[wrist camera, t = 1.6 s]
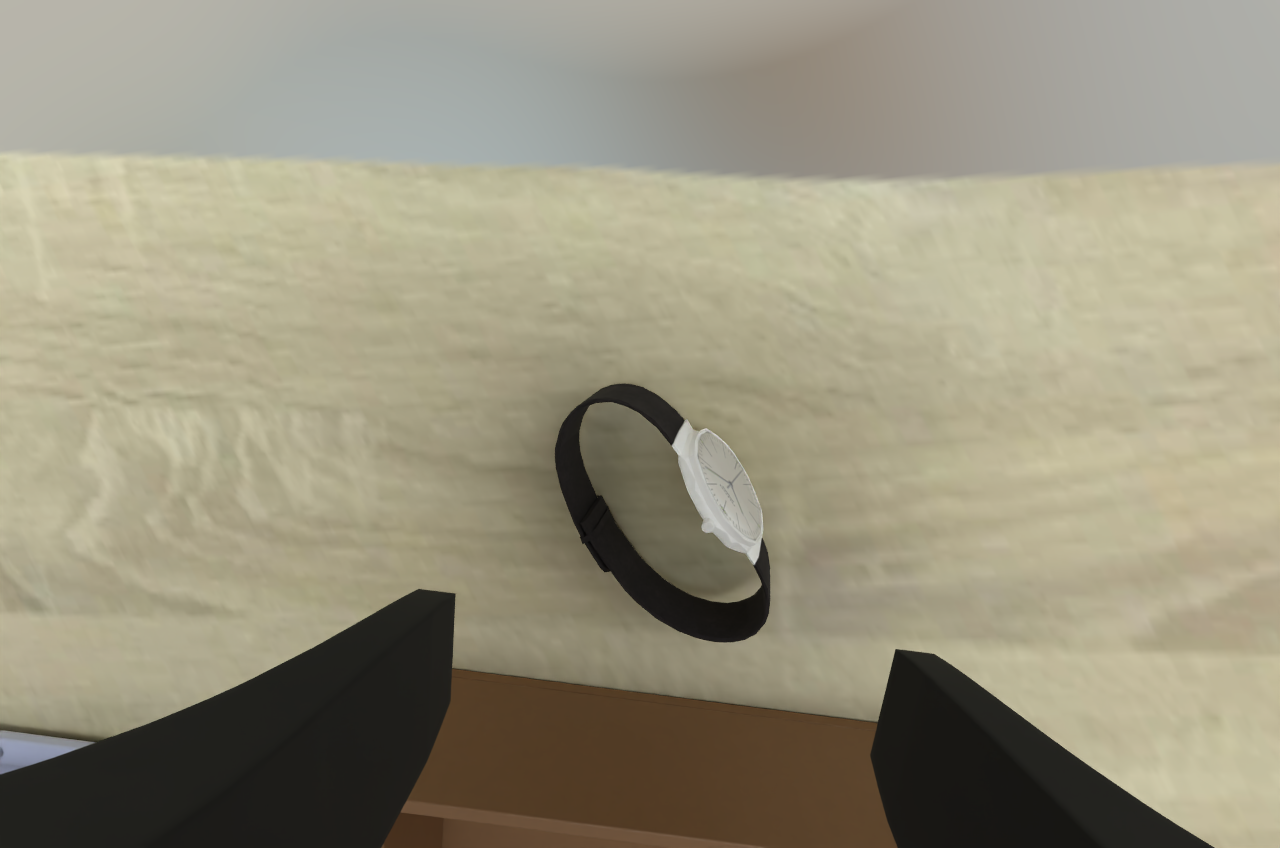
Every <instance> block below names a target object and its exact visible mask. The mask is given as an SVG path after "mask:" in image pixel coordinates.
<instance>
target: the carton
mask: <svg viewBox="0 0 1280 848" xmlns="http://www.w3.org/2000/svg"><path fill="white" fill-rule="evenodd" d="M877 724H878V723H873V722H865V721H857V720H849V719H841V718H834V717H826V716H818V715H810V714H802V713H795V712H787V711H779V710H771V709H763V708H755V707H748V706H740V705H732V704H724V703H716V702H708V701H701V700H693V699H685V698H677V697H669V696H661V695H654V694H646V693H638V692H630V691H622V690H614V689H607V688H599V687H591V686H583V685H575V684H567V683H560V682H552V681H544V680H536V679H528V678H520V677H513V676H505V675H497V674H489V673H481V672H473V671H466V670H458V669H452V682H451V702H450V704H449V707H448V710H447V712H446V715H445V717H444V720H443V723H442V725H441V728H440V731H439V733H438V736H437V738H436V741H435V743H434V746H433V748H432V751H431V753H430V756H429V758H428V761H427V763H426V765H425V767H424V768H423V770H422V772H421V774H420V776H419V778H418V780H417V782H416V784H415V786H414V788H413V789H412V791H411V793H410V795H409V797H408V799H407V801H406V803H405V805H404V806H403V808H402V810H401V812H400V814H399V816H398V818H397V820H396V821H395V823H394V825H393V827H392V829H391V831H390V833H389V834H388V836H387V838H386V840H385V842H384V844H383V846H382V847H381V848H898V847H897V845H896V842H895V840H894V837H893V835H892V832H891V829H890V827H889V824H888V822H887V818H886V815H885V811H884V808H883V804H882V800H881V797H880V793H879V790H878V786H877V782H876V778H875V774H874V769H873V765H872V761H871V757H870V753H871V749H872V745H873V741H874V737H875V733H876V729H877Z"/></svg>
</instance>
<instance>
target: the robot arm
mask: <svg viewBox="0 0 1280 848" xmlns="http://www.w3.org/2000/svg"><path fill="white" fill-rule="evenodd" d="M454 614H455V594H454V593H446V592H438V591H430V590H422V589H418V590H416V591H414V592H412V593H410V594H408V595H406V596H404V597H402V598H400V599H399V600H397V601H395V602H393V603H391V604H390V605H388V606H386V607H384V608H383V609H381V610H379V611H377V612H376V613H374V614H372V615H370V616H369V617H367V618H365V619H364V620H362V621H360V622H358V623H356V624H355V625H353V626H351V627H349V628H348V629H346V630H344V631H342V632H340V633H339V634H337V635H335V636H333V637H332V638H330V639H328V640H326V641H324V642H323V643H321V644H319V645H317V646H315V647H314V648H312V649H310V650H308V651H306V652H304V653H302V654H300V655H298V656H296V657H294V658H292V659H290V660H288V661H286V662H284V663H282V664H280V665H278V666H276V667H274V668H272V669H270V670H268V671H266V672H265V673H263V674H261V675H259V676H257V677H255V678H253V679H251V680H249V681H247V682H245V683H242V684H240V685H238V686H236V687H234V688H232V689H230V690H227V691H225V692H223V693H221V694H218V695H216V696H214V697H212V698H209V699H207V700H205V701H202V702H200V703H198V704H195V705H193V706H190V707H188V708H186V709H183V710H181V711H178V712H176V713H174V714H171V715H169V716H167V717H164V718H162V719H159V720H156V721H154V722H151V723H149V724H146V725H144V726H141V727H138V728H135V729H132V730H130V731H127V732H124V733H121V734H118V735H116V736H113V737H110V738H107V739H104V740H102V741H99V742H89V741H81V740H73V739H66V738H58V737H50V736H43V735H35V734H28V733H20V732H12V731H5V730H0V848H381V847H382V846H383V844H384V842H385V840H386V838H387V836H388V834H389V833H390V831H391V829H392V827H393V825H394V823H395V821H396V820H397V818H398V816H399V814H400V812H401V810H402V808H403V806H404V805H405V803H406V801H407V799H408V797H409V795H410V793H411V791H412V789H413V788H414V786H415V784H416V782H417V780H418V778H419V776H420V774H421V772H422V770H423V768H424V767H425V765H426V763H427V761H428V758H429V756H430V753H431V751H432V748H433V746H434V743H435V741H436V738H437V736H438V733H439V731H440V728H441V725H442V723H443V720H444V717H445V715H446V712H447V710H448V707H449V704H450V702H451V682H452V659H453V637H454ZM870 757H871V761H872V765H873V769H874V774H875V778H876V782H877V786H878V790H879V793H880V797H881V800H882V804H883V808H884V811H885V815H886V818H887V822H888V824H889V827H890V829H891V832H892V835H893V837H894V840H895V842H896V845H897V847H898V848H1214V847H1212V846H1211V845H1209V844H1208V843H1206V842H1204V841H1203V840H1201V839H1199V838H1198V837H1196V836H1194V835H1193V834H1191V833H1190V832H1188V831H1186V830H1185V829H1183V828H1181V827H1180V826H1178V825H1176V824H1175V823H1173V822H1172V821H1170V820H1169V819H1167V818H1166V817H1164V816H1162V815H1161V814H1159V813H1158V812H1156V811H1155V810H1153V809H1152V808H1150V807H1149V806H1147V805H1146V804H1144V803H1142V802H1141V801H1140V800H1138V799H1137V798H1135V797H1134V796H1132V795H1131V794H1129V793H1128V792H1126V791H1125V790H1123V789H1122V788H1120V787H1119V786H1118V785H1116V784H1115V783H1113V782H1112V781H1110V780H1109V779H1107V778H1106V777H1104V776H1103V775H1101V774H1100V773H1099V772H1097V771H1096V770H1094V769H1093V768H1091V767H1090V766H1088V765H1087V764H1086V763H1084V762H1083V761H1081V760H1080V759H1079V758H1077V757H1076V756H1074V755H1073V754H1072V753H1070V752H1069V751H1067V750H1066V749H1065V748H1063V747H1062V746H1061V745H1059V744H1058V743H1056V742H1055V741H1054V740H1052V739H1051V738H1050V737H1048V736H1047V735H1045V734H1044V733H1043V732H1041V731H1040V730H1039V729H1037V728H1036V727H1035V726H1033V725H1032V724H1031V723H1029V722H1028V721H1027V720H1025V719H1024V718H1023V717H1021V716H1020V715H1019V714H1017V713H1016V712H1015V711H1013V710H1012V709H1011V708H1009V707H1008V706H1007V705H1005V704H1004V703H1003V702H1001V701H1000V700H999V699H997V698H996V697H995V696H993V695H992V694H991V693H989V692H988V691H987V690H985V689H984V688H982V687H981V686H980V685H978V684H977V683H976V682H974V681H973V680H972V679H970V678H969V677H967V676H966V675H965V674H963V673H962V672H961V671H959V670H958V669H956V668H955V667H953V666H952V665H950V664H949V663H947V662H946V661H944V660H943V659H941V658H940V657H938V656H936V655H935V654H930V653H922V652H914V651H906V650H899V649H896V650H895V654H894V658H893V662H892V667H891V671H890V675H889V679H888V683H887V687H886V691H885V695H884V700H883V704H882V708H881V712H880V716H879V720H878V724H877V729H876V733H875V737H874V741H873V745H872V749H871V753H870Z"/></svg>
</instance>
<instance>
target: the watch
mask: <svg viewBox="0 0 1280 848" xmlns="http://www.w3.org/2000/svg"><path fill="white" fill-rule="evenodd" d="M602 402H614V403H617V404H620V405H624V406H627V407H629V408H631V409H633V410H635V411H637V412H639V413H640V414H641V415H642V416H644V417H645V418H646V419H647V420H648V421H650V422H651V423H652V424H653V425H654V426H656V427H657V428H658V430H659V431H660V432H661V433H662V434H663V436H664V437H665V438H666V439H667V441H668V442H669V443H670V444H671V446H672V447H673V449H674V450H675V451H676V452H677V454H678V464H679V467H680V470H681V473H682V476H683V479H684V482H685V485H686V489H687V491H688V493H689V495H690V497H691V499H692V501H693V503H694V505H695V507H696V509H697V511H698V513H699V515H700V516H701V518H702V519H703V520H704V521H703V523H702V527H701V528H702V530H703V531H704V532H705V533H711V532H713V533H714V534H715V535H716V536H717V537H718V538H719V540H720V541H721V542H722V543H723V544H724V545H725V546H726V547H728V548H730V549H733V550H735V551H737V552H740V553H745V554H746V555H747V557H748V558H749V560H750V561H751V563H752V565H753V566H754V568H755V570H756V572H757V574H758V576H759V578H760V580H761V583H762V586H761V588H760V589H759V590H758V591H757V592H756V594H755V595H753V596H751V597H750V598H747V599H744V600H742V601H739V602H732V603H721V602H712V601H708V600H704V599H701V598H698V597H694V596H692V595H690V594H688V593H686V592H684V591H682V590H680V589H678V588H676V587H675V586H673V585H672V584H670V583H669V582H667V581H666V580H664V579H663V578H662V577H661V576H660V575H659V574H658V573H656V572H655V571H654V570H653V569H652V568H651V567H650V566H649V565H648V564H647V563H646V562H645V561H644V560H643V559H642V558H641V557H640V556H639V555H638V553H637V552H636V550H635V549H634V548H633V546H632V545H631V544H630V542H629V541H628V540H627V538H626V537H625V536H624V534H623V533H622V531H621V530H620V529H619V527H618V526H617V525H616V523H615V521H614V518H613V516H612V515H611V513H610V511H609V508H608V506H607V505H606V503H605V501H604V499H603V497H602V496H598V498H597V496H596V494H595V491H594V489H593V487H592V484H591V482H590V479H589V477H588V475H587V472H586V470H585V467H584V464H583V460H582V456H581V452H580V444H579V430H580V426H581V422H582V419H583V416H584V414H585V412H586V411H587V409H588V407H589V406H590V405H592V404H594V403H602ZM555 463H556V470H557V474H558V479H559V483H560V487H561V490H562V493H563V496H564V498H565V501H566V504H567V506H568V509H569V511H570V514H571V517H572V519H573V522H574V524H575V526H576V528H577V530H578V532H579V534H580V538H581V541H582V544H584V543H585V545H586V546H587V548H588V549H589V551H590V552H591V554H592V556H593V557H594V559H595V560H596V562H597V564H598V565H599V567H600V568H601V569H602V570H603V571H604V572H610V571H611V572H612V574H613V575H614V577H615V578H616V579H617V581H618V582H619V583H620V585H621V586H622V587H623V588H624V590H625V591H626V592H627V593H628V594H629V595H630V596H631V597H632V598H633V599H634V600H635V601H636V602H637V603H638V604H639V605H640V606H642V607H643V608H644V609H645V610H647V611H648V612H649V613H650V614H651V615H653V616H654V617H655V618H656V619H658V620H660V621H662V622H663V623H665V624H667V625H669V626H670V627H672V628H674V629H676V630H677V631H679V632H682V633H685V634H687V635H690V636H693V637H695V638H699V639H703V640H708V641H713V642H736V641H741V640H745V639H747V638H749V637H751V636H753V635H755V634H756V633H757V632H758V631H759V630H760V629H761V627H762V626H763V625H764V624H765V622H766V620H767V617H768V614H769V606H770V564H769V557H768V552H767V549H766V546H765V543H764V541H763V538H762V535H763V515H762V510H761V507H760V504H759V501H758V498H757V496H756V493H755V490H754V488H753V486H752V484H751V481H750V479H749V477H748V475H747V473H746V471H745V470H744V468H743V466H742V465H741V463H740V462H739V460H738V458H737V457H736V455H735V454H734V452H733V451H732V450H731V448H730V447H729V446H728V445H727V444H726V443H725V442H724V441H723V440H722V439H721V438H720V437H719V436H718V435H716V434H715V433H713V432H711V431H710V430H708V429H707V428H704V429H702V430H700V431H696V430H693V428H692V427H691V425H690V423H689V421H688V420H687V419H686V420H684V419H683V418H682V417H681V416H680V414H679V413H678V412H677V411H676V410H675V409H674V408H672V407H671V406H670V405H669V404H668V403H667V402H666V401H665V400H663V399H662V398H661V397H659V396H658V395H656V394H655V393H653V392H651V391H649V390H647V389H645V388H643V387H640V386H636V385H632V384H616V385H610V386H607V387H605V388H602V389H600V390H599V391H598V392H596V393H595V394H593V395H592V396H591V397H589V398H588V399H587V400H585V401H584V402H583V403H581V404H580V405H578V406H577V407H576V408H575V409H574V410H573V411H572V412H571V413H570V414H569V415H568V417H567V418H566V419H565V421H564V422H563V424H562V426H561V428H560V431H559V435H558V439H557V443H556V447H555Z"/></svg>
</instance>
